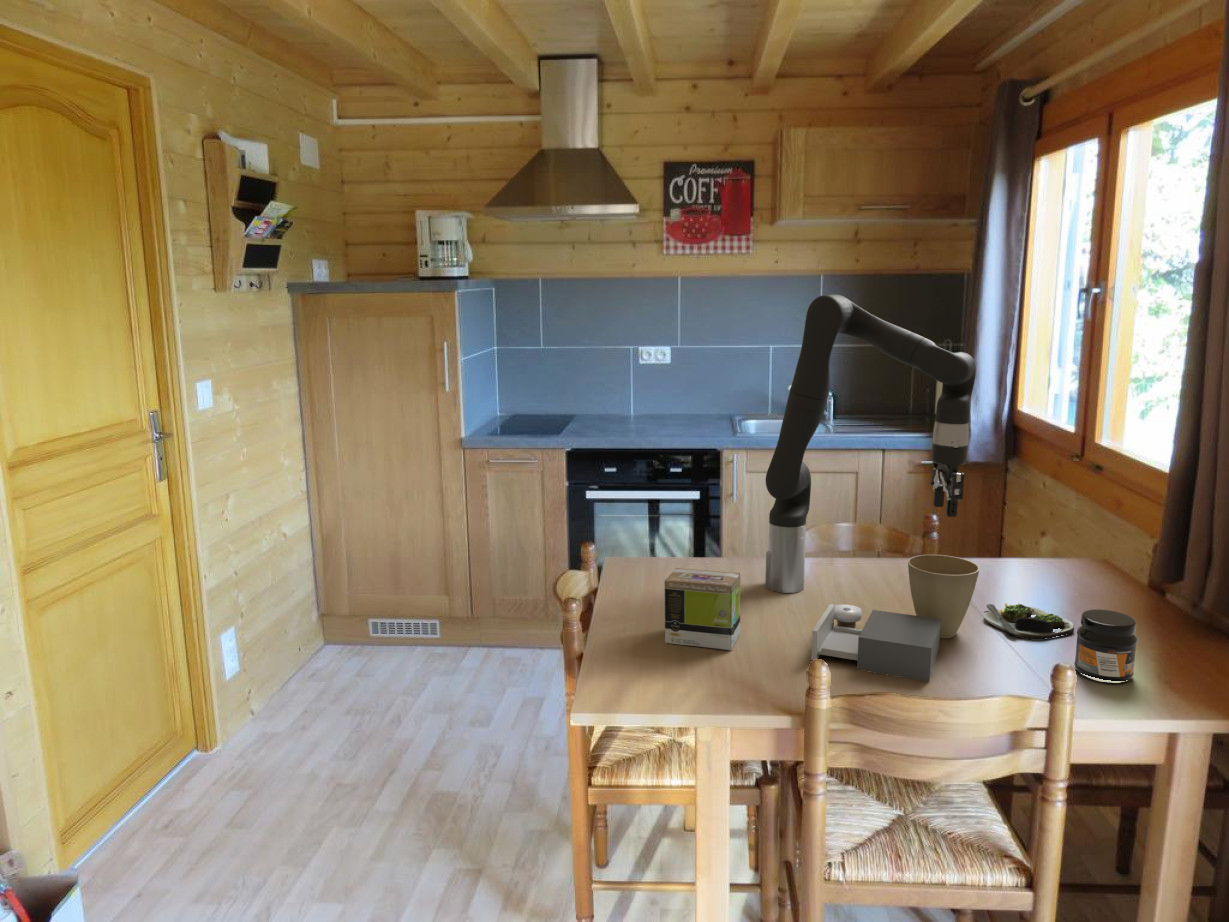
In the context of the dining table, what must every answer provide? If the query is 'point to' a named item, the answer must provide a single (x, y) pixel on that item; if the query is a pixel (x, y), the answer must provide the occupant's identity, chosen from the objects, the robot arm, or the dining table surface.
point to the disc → (847, 613)
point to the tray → (834, 638)
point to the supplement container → (1106, 645)
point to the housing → (899, 645)
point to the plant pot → (942, 589)
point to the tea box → (702, 608)
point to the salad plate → (1027, 621)
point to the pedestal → (846, 624)
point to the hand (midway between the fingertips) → (944, 511)
